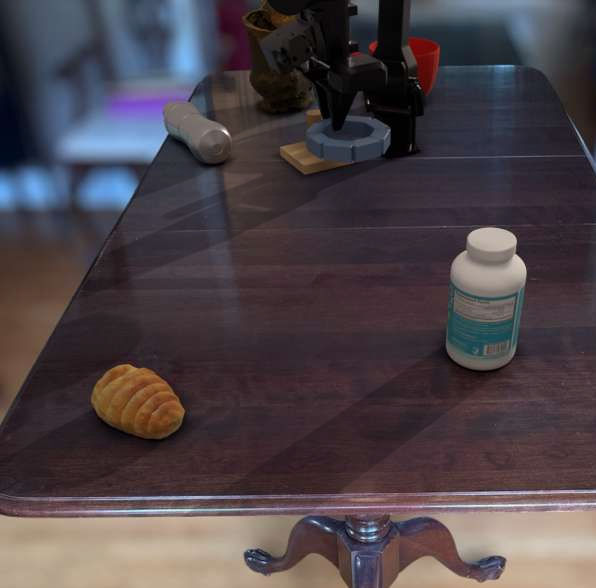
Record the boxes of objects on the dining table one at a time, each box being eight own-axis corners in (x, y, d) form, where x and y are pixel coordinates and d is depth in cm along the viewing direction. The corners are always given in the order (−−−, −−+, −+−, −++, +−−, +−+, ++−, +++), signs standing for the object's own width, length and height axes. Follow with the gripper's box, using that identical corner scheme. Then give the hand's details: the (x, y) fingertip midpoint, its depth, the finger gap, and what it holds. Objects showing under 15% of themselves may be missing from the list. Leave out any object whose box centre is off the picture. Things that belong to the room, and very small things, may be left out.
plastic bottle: (231, 121, 111) (185, 87, 123) (190, 134, 108) (148, 98, 121) (240, 160, 115) (195, 123, 128) (202, 174, 113) (160, 135, 126)
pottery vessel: (270, 82, 147) (260, -29, 134) (323, 83, 146) (317, -29, 133) (244, 126, 128) (229, 1, 115) (304, 127, 127) (295, 2, 114)
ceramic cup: (351, 91, 142) (349, 36, 135) (436, 92, 141) (438, 37, 135) (346, 114, 132) (345, 56, 126) (438, 115, 132) (441, 56, 125)
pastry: (204, 417, 69) (197, 386, 66) (149, 456, 65) (139, 426, 62) (142, 380, 73) (134, 350, 71) (86, 415, 69) (75, 384, 67)
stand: (328, 145, 121) (326, 99, 116) (354, 163, 115) (353, 115, 110) (280, 155, 118) (276, 109, 113) (304, 174, 112) (301, 126, 107)
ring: (362, 125, 98) (362, 110, 97) (403, 150, 91) (403, 135, 90) (294, 141, 94) (293, 125, 93) (332, 168, 87) (331, 153, 86)
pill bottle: (469, 324, 80) (481, 213, 71) (527, 349, 77) (546, 235, 68) (431, 355, 76) (437, 241, 67) (490, 383, 72) (505, 266, 64)
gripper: (232, -11, 87) (248, 118, 98) (301, 22, 75) (311, 165, 86) (313, -23, 92) (320, 102, 102) (390, 8, 80) (389, 146, 90)
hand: (332, 127), depth 95 cm, fingers closed on ring, 2 cm apart
